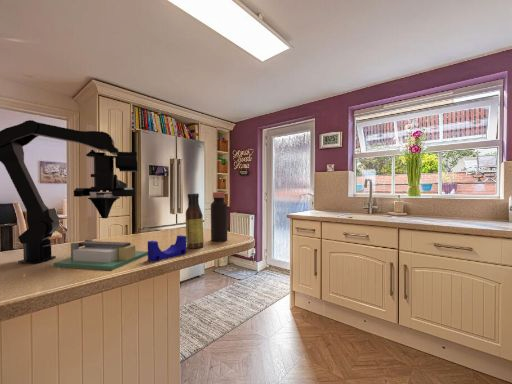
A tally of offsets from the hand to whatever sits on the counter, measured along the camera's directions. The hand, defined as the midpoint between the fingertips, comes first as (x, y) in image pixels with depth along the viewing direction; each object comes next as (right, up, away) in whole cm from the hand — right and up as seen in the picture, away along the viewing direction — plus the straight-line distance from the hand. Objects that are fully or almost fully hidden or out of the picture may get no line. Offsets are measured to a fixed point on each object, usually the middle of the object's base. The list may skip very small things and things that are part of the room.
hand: (104, 218), depth 84 cm
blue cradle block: (+21, -12, -3) cm, 25 cm away
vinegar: (+35, -12, +22) cm, 43 cm away
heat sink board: (+4, -12, -7) cm, 14 cm away
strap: (+3, -8, -7) cm, 11 cm away
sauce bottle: (+27, -12, +10) cm, 32 cm away
